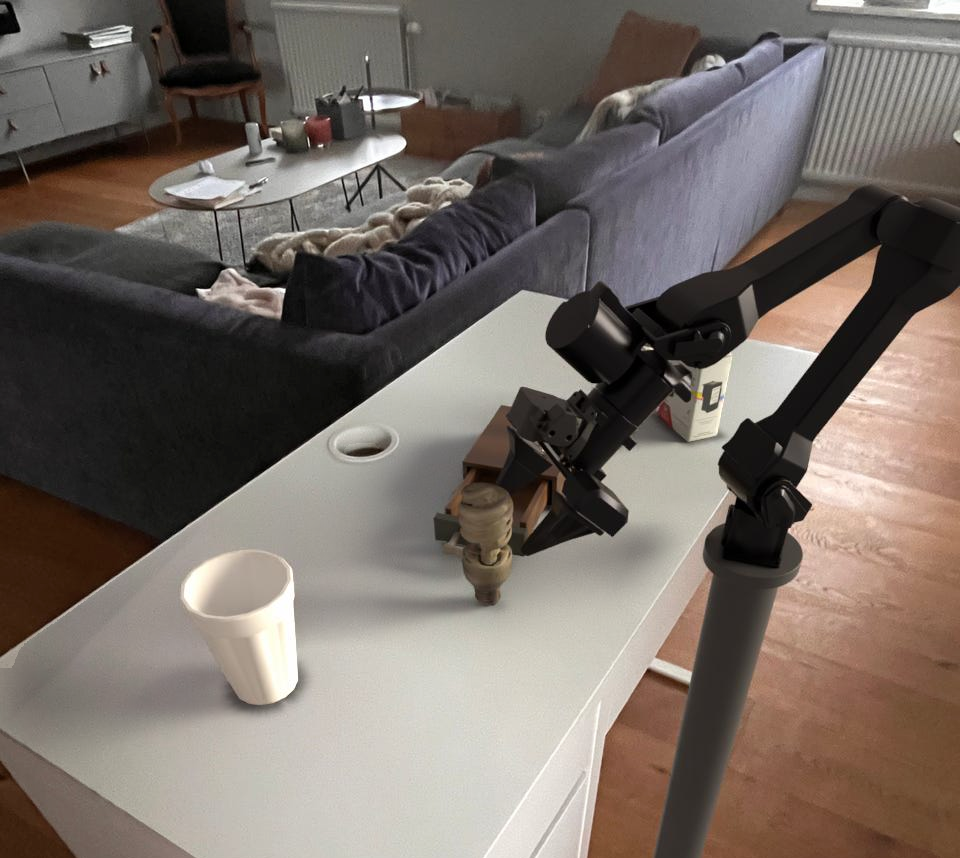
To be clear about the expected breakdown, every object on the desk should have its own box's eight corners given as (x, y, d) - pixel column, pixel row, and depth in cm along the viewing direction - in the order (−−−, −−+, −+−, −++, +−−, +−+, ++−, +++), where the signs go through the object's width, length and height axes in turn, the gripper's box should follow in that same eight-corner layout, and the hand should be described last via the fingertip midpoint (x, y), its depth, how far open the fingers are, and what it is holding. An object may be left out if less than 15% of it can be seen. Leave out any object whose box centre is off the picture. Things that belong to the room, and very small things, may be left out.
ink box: (656, 415, 118) (666, 334, 110) (685, 408, 119) (698, 328, 111) (687, 443, 112) (701, 360, 104) (718, 435, 114) (734, 353, 105)
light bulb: (521, 614, 88) (522, 495, 78) (474, 627, 87) (468, 509, 76) (501, 583, 92) (499, 466, 81) (455, 596, 90) (448, 478, 80)
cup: (207, 667, 83) (170, 566, 74) (303, 638, 86) (278, 537, 77) (226, 736, 77) (188, 634, 68) (329, 702, 79) (306, 599, 70)
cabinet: (555, 510, 102) (557, 476, 98) (463, 494, 105) (462, 461, 102) (586, 449, 112) (588, 417, 109) (501, 436, 115) (501, 404, 112)
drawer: (514, 577, 91) (514, 554, 89) (422, 559, 94) (420, 536, 92) (558, 490, 103) (559, 468, 101) (476, 476, 106) (475, 455, 104)
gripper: (525, 320, 79) (423, 443, 84) (608, 407, 66) (481, 546, 71) (595, 383, 86) (496, 493, 91) (681, 473, 73) (561, 595, 78)
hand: (506, 527), depth 83 cm, fingers open, 9 cm apart
